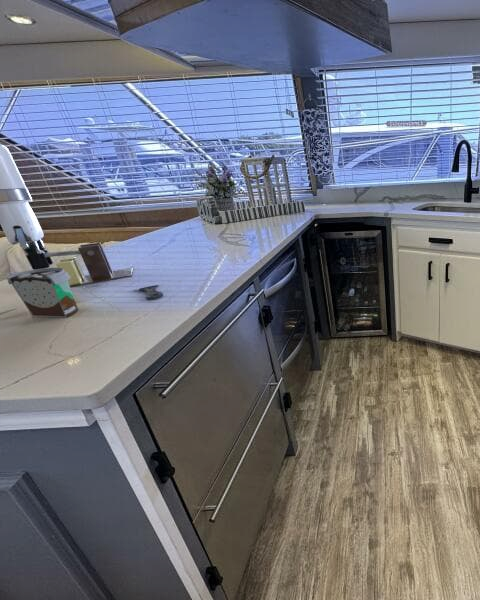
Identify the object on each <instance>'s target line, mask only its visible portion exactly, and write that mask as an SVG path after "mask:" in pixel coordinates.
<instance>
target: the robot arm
mask: <svg viewBox="0 0 480 600" xmlns="http://www.w3.org/2000/svg"><path fill="white" fill-rule="evenodd" d="M33 201H34V200H33V198H32V196H31V194H30V192H29V189H28V188H27V186H26V183H25V182H24V179H23V177H22V175H21V173H20V171H19V169H18V167H17V164H16V162H15V160H14V158H13V155H12V154H11V152H10V149H9V148H8V147H6V146H5V144H4V145H3V144H2V143H0V226H1V229H2V231H3V233H4V235H5V238H6V239H7V241H8V243H9V244H10V245H17V244H19V247H20V248H21V249H22V251H23V253H24V255H25V257H26V259H27V261H28V263H29V265H30V267H31V270H35V269H43V268H51V267H50V265H53V264H54V262H53V259H52V258H51V257H45V255H44V253H49V252H48V249H47V248H46V246H45V244H44V241H43V240H42V239H43V238H44V237H45V235H44V231H43V229H42V227H41V224H40V223H39V220H38V219H37V217H36V215H35V212H34V211H33V208H32V207H31V205H30V204H29V203H31V202H33ZM40 250H41V251H43V252H44V253H41V251H40Z"/></svg>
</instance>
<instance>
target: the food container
mask: <svg viewBox="0 0 480 600" xmlns="http://www.w3.org/2000/svg"><path fill="white" fill-rule="evenodd" d="M68 279H70V276H69V274H68V273H67V272H66V271H64V270H63V268H58V267H48V268H43V269H35V270H34V269H29V270H23V271H18V272H14V273H10V274H7V275H6V280H7V283H8V285H11V286H12V287H13V289H14V290H15V292H16V294H17V295H18V297H19V298H20V299H21V301H22V302H23V304H24V306H25V307H26V309H27V311H28V312H29V314H30V316H32V317H35V318H63V319H66V318H69V317H71V316H74V315H75V314H76V313H78V311H79V309H78V306H77V302H76V300H75V297H74V294H73V292H72V291H73V290H72V287H71V288H70V286H69V283H68Z"/></svg>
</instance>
